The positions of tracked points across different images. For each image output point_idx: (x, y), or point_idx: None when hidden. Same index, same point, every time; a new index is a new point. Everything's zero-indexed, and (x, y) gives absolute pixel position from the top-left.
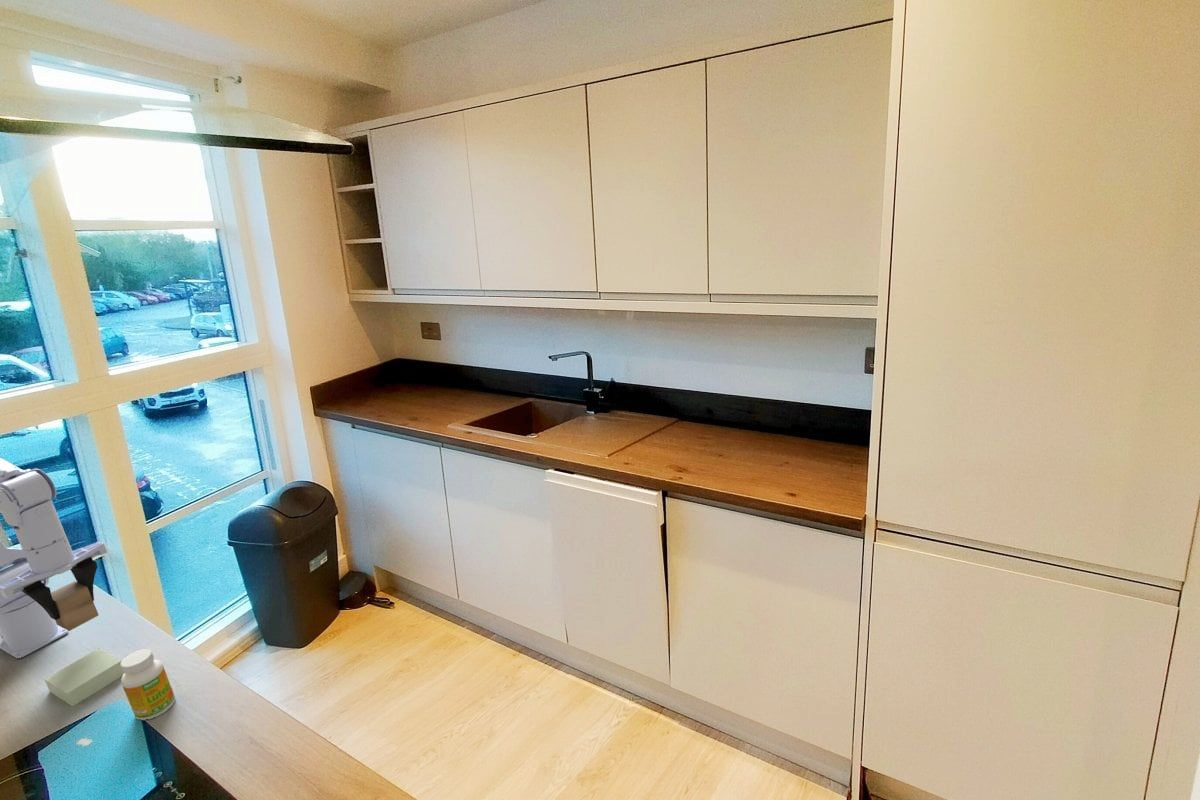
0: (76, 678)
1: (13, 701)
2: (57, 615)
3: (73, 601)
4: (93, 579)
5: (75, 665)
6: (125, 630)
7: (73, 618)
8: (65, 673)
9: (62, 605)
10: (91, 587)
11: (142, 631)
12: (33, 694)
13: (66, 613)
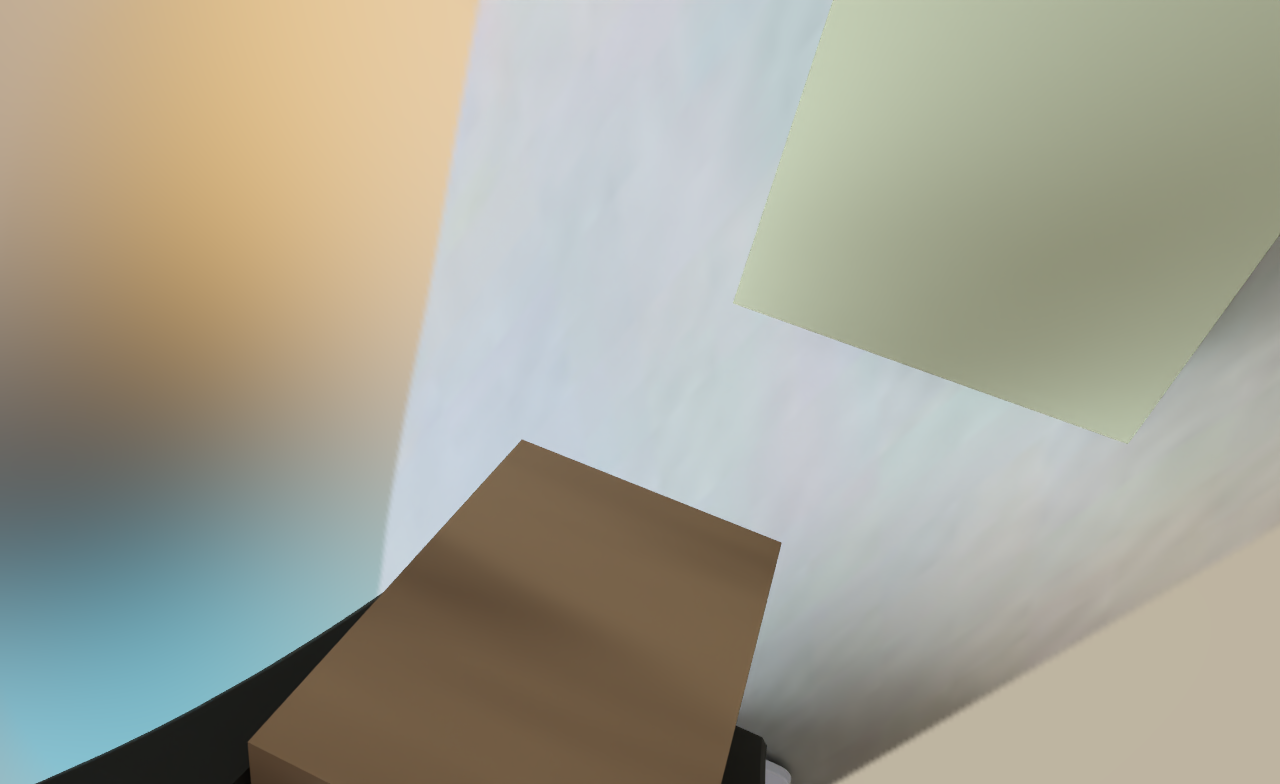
0: (1167, 118)
1: (1180, 561)
2: (736, 766)
3: (534, 735)
4: (103, 756)
5: (950, 317)
6: (491, 377)
7: (683, 588)
8: (1064, 314)
9: None
10: (253, 693)
11: (469, 245)
12: (1116, 482)
13: (695, 688)
